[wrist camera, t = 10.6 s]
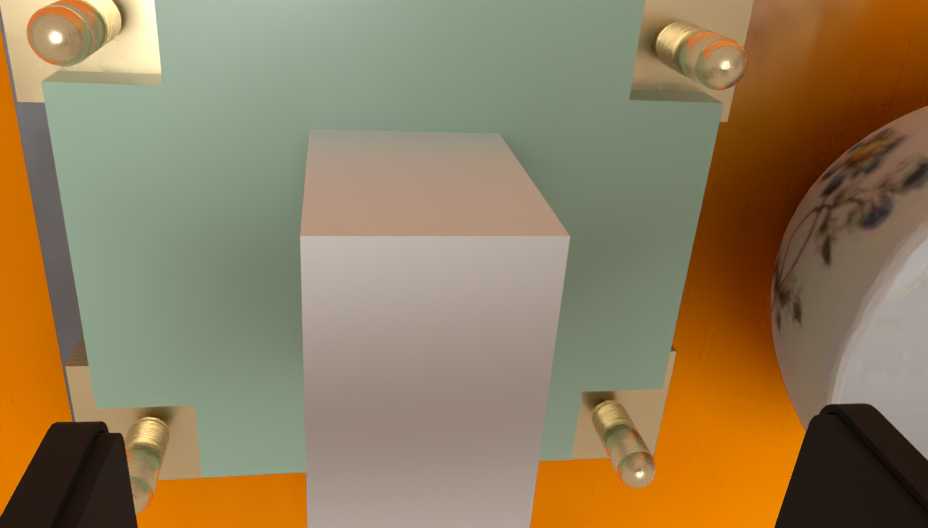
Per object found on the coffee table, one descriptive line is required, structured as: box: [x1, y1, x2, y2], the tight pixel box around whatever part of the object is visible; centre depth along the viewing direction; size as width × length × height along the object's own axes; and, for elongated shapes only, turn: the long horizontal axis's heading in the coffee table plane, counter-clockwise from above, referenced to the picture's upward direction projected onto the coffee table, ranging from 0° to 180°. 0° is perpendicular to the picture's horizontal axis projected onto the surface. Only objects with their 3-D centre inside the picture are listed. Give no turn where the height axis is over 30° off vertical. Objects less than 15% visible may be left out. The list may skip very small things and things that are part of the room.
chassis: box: [0, 0, 754, 515], centre depth 19 cm, size 18×16×7 cm
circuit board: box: [41, 0, 724, 528], centre depth 15 cm, size 14×12×6 cm
